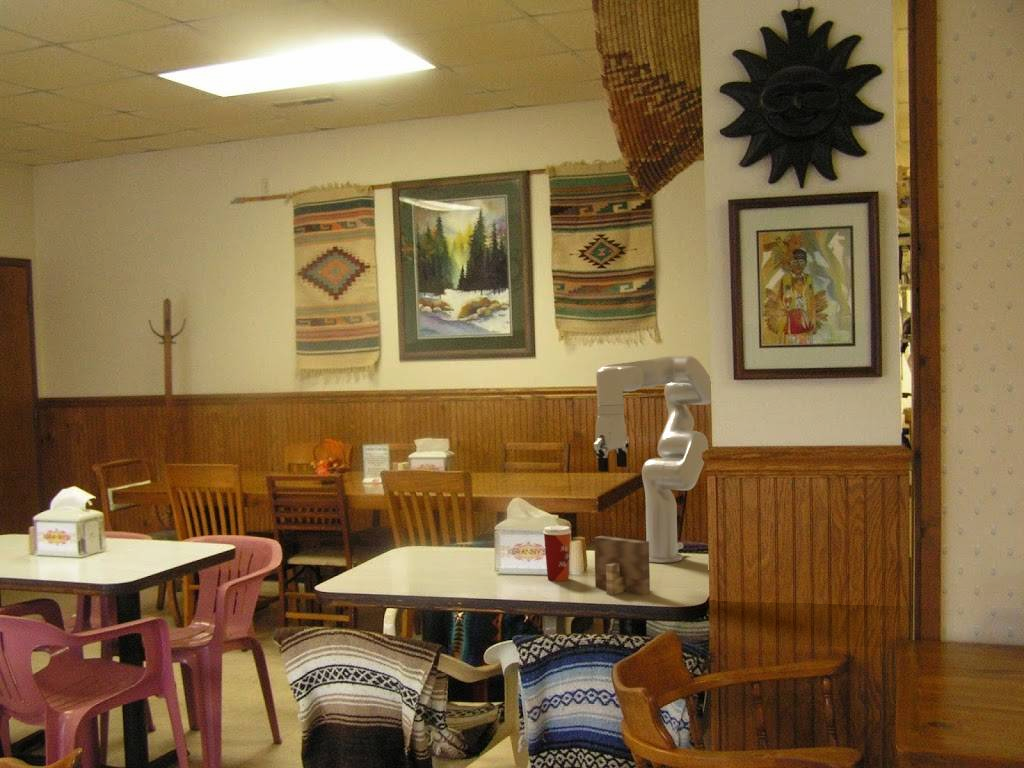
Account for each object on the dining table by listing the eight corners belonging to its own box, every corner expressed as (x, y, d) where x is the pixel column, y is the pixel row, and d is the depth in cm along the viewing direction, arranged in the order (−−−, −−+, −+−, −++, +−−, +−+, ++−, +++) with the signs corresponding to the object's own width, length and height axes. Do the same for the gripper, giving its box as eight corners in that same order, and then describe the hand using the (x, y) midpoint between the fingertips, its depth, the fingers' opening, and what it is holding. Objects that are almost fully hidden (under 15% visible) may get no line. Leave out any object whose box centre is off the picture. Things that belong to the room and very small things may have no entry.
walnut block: (595, 587, 294) (594, 537, 293) (601, 585, 296) (600, 535, 295) (643, 595, 283) (642, 543, 283) (649, 593, 286) (648, 541, 285)
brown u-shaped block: (631, 585, 295) (630, 557, 294) (637, 586, 293) (636, 558, 293) (606, 594, 285) (606, 564, 285) (612, 595, 284) (612, 565, 284)
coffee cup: (570, 582, 300) (568, 530, 300) (541, 582, 302) (540, 529, 301) (574, 576, 308) (573, 525, 308) (546, 575, 310) (545, 524, 309)
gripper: (615, 407, 315) (618, 464, 316) (583, 413, 302) (585, 472, 303) (637, 408, 311) (639, 465, 312) (604, 413, 297) (607, 474, 298)
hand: (612, 469), depth 307 cm, fingers open, 9 cm apart
